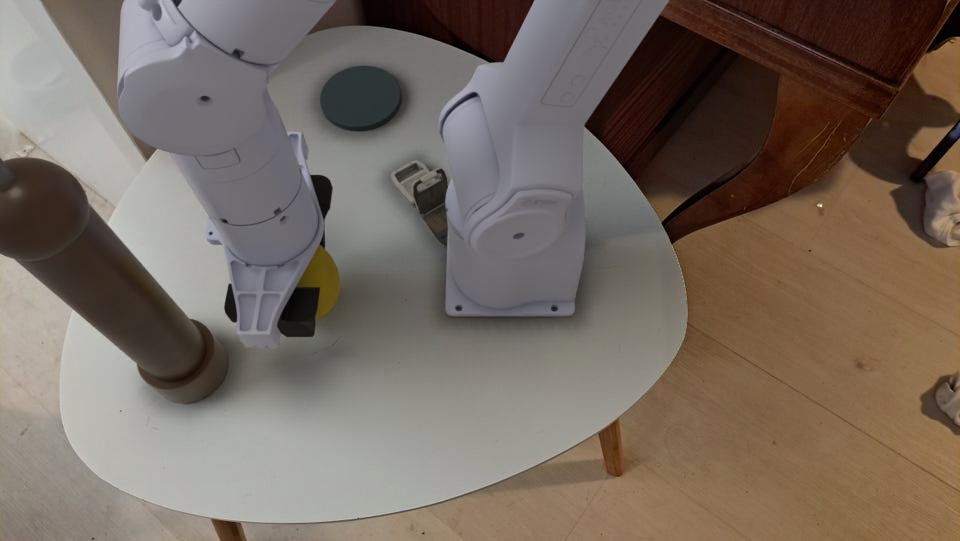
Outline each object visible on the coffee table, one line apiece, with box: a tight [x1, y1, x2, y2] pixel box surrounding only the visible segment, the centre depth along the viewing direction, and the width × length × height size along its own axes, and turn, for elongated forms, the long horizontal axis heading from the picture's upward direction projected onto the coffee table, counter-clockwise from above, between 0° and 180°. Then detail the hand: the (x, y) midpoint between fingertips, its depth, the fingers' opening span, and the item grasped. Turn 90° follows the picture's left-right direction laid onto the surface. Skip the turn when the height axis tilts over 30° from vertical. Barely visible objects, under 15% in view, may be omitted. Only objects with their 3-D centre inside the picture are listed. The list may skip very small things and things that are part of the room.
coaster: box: [319, 65, 402, 132], centre depth 63 cm, size 7×7×1 cm
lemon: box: [296, 244, 341, 321], centre depth 50 cm, size 6×6×8 cm
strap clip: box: [390, 159, 449, 249], centre depth 56 cm, size 8×3×4 cm, turn 35°
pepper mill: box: [0, 156, 229, 404], centre depth 41 cm, size 5×5×24 cm
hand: (305, 293), depth 52 cm, fingers closed on lemon, 5 cm apart
